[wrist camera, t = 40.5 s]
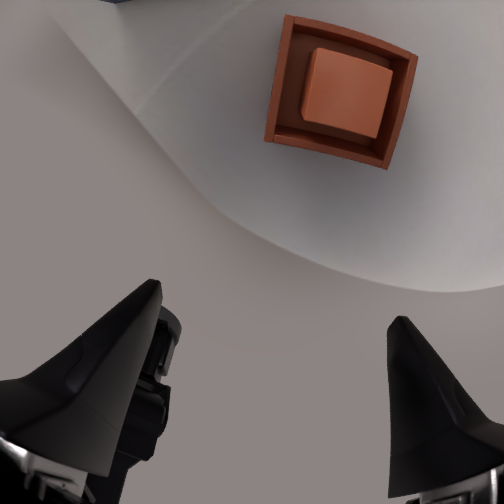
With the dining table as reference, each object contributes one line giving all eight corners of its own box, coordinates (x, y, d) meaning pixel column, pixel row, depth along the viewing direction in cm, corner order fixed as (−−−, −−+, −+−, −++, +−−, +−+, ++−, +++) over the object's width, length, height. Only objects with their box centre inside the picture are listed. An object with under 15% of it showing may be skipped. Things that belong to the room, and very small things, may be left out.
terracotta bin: (266, 128, 17) (263, 141, 14) (283, 24, 12) (285, 14, 9) (371, 152, 17) (387, 170, 14) (395, 56, 12) (418, 56, 10)
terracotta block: (298, 109, 15) (303, 120, 12) (308, 52, 13) (317, 47, 10) (357, 124, 15) (376, 139, 12) (369, 69, 13) (393, 71, 10)
